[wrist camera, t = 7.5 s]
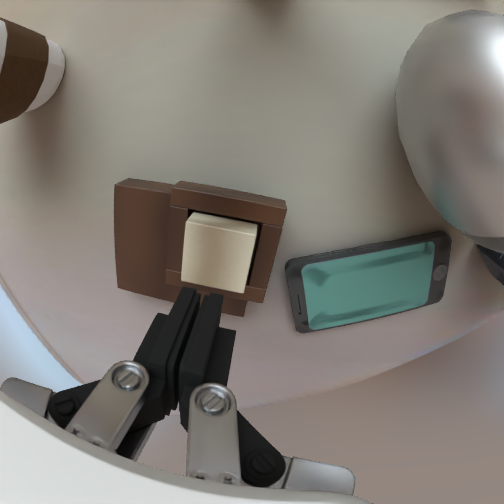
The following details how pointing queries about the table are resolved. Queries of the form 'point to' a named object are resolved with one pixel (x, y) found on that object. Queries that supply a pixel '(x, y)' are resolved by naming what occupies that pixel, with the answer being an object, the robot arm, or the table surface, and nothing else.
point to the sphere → (457, 121)
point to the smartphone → (367, 281)
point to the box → (493, 262)
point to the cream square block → (217, 251)
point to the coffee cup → (26, 69)
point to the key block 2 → (173, 230)
